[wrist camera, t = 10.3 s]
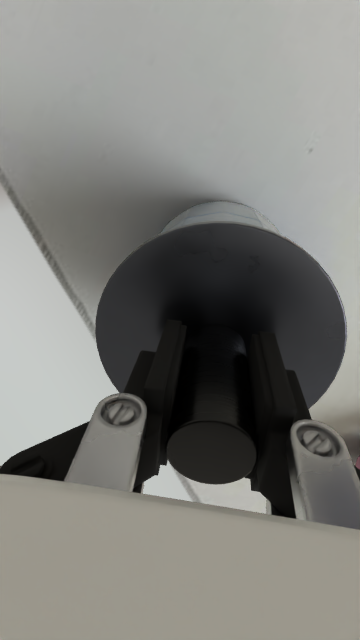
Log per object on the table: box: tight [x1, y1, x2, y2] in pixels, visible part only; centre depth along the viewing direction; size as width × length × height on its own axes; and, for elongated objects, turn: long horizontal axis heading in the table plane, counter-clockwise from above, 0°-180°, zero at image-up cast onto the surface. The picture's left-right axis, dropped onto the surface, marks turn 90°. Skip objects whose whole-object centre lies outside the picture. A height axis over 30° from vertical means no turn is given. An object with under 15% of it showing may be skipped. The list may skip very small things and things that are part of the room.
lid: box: [95, 221, 347, 484], centre depth 11 cm, size 10×10×6 cm
